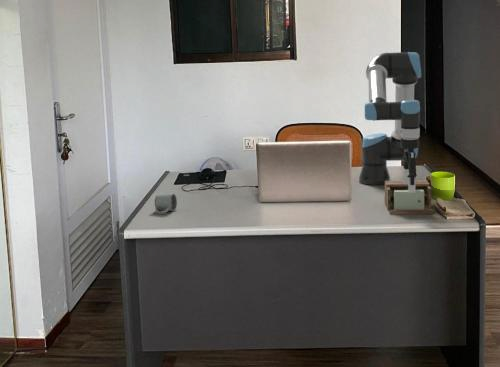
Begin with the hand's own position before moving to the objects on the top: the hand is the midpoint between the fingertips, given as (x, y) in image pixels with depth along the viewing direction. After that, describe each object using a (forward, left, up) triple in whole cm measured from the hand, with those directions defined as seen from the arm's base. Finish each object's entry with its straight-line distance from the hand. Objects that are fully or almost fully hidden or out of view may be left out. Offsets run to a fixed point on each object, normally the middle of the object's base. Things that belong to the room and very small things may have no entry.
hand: (409, 188), depth 320 cm
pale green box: (0, 0, -10) cm, 10 cm away
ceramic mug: (-8, -104, -10) cm, 105 cm away
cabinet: (-5, 0, -10) cm, 11 cm away
